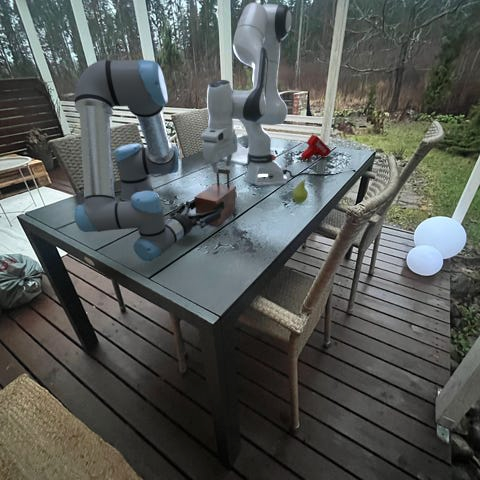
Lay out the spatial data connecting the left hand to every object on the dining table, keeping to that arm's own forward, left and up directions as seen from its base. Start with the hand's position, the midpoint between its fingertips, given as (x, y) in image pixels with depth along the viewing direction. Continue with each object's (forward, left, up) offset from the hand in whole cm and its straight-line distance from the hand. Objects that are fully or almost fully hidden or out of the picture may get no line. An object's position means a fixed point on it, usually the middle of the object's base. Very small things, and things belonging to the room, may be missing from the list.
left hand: (211, 202), depth 105 cm
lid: (0, +4, +2) cm, 4 cm away
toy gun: (+17, +100, -7) cm, 101 cm away
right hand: (0, +9, +11) cm, 14 cm away
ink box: (-56, +33, -7) cm, 65 cm away
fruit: (+27, +30, -7) cm, 41 cm away
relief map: (-33, +85, -7) cm, 91 cm away
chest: (0, +3, -7) cm, 8 cm away
